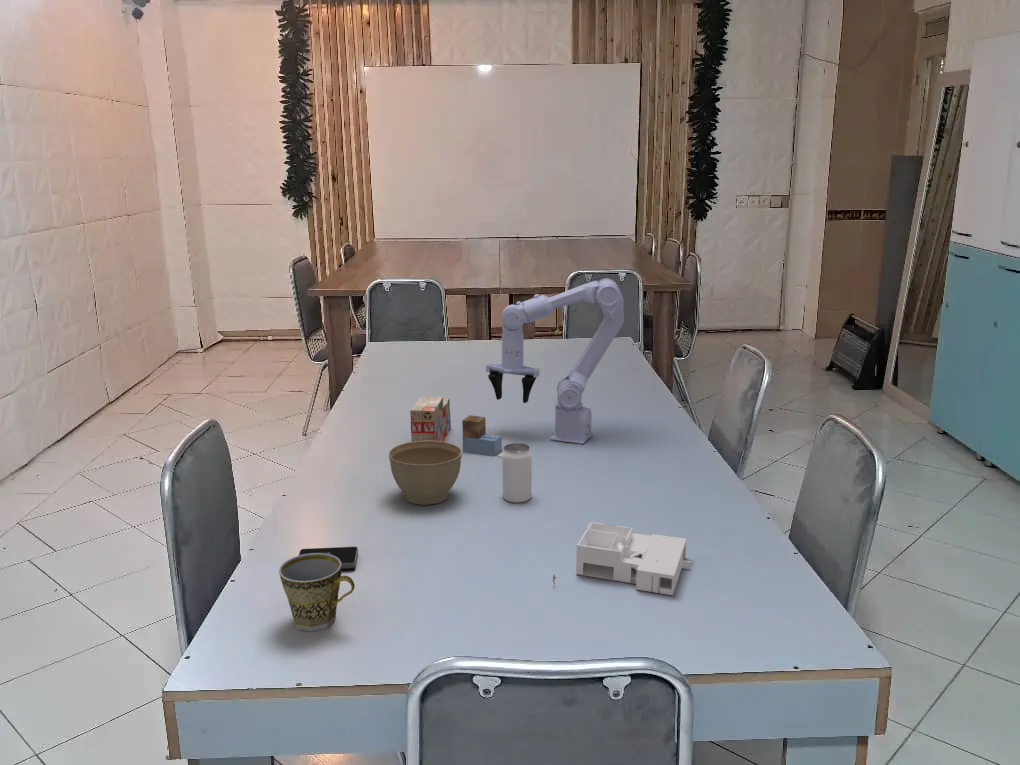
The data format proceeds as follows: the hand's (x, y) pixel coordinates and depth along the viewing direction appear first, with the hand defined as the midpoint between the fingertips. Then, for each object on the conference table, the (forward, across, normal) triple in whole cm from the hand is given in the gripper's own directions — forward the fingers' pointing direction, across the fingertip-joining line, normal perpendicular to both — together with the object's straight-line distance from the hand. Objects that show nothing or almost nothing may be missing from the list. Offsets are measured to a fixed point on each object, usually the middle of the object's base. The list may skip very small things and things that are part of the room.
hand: (512, 400), depth 227 cm
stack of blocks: (+11, -19, -11) cm, 24 cm away
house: (+11, +50, -61) cm, 80 cm away
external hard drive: (+11, -6, -80) cm, 81 cm away
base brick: (+10, -3, -13) cm, 17 cm away
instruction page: (+10, +5, -12) cm, 17 cm away
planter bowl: (+11, -3, -45) cm, 46 cm away
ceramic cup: (+11, +5, -98) cm, 99 cm away
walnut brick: (+6, -5, -13) cm, 15 cm away
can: (+11, +16, -38) cm, 43 cm away
